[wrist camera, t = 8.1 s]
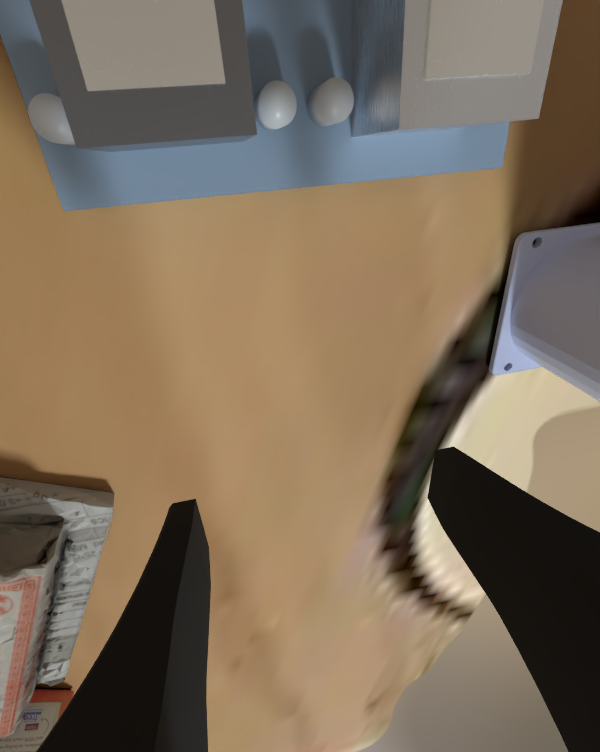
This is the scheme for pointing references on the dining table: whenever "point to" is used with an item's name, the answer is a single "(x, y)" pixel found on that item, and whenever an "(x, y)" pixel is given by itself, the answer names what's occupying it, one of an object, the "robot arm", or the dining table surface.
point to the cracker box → (37, 720)
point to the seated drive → (448, 63)
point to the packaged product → (44, 583)
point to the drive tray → (272, 113)
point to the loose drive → (149, 71)
